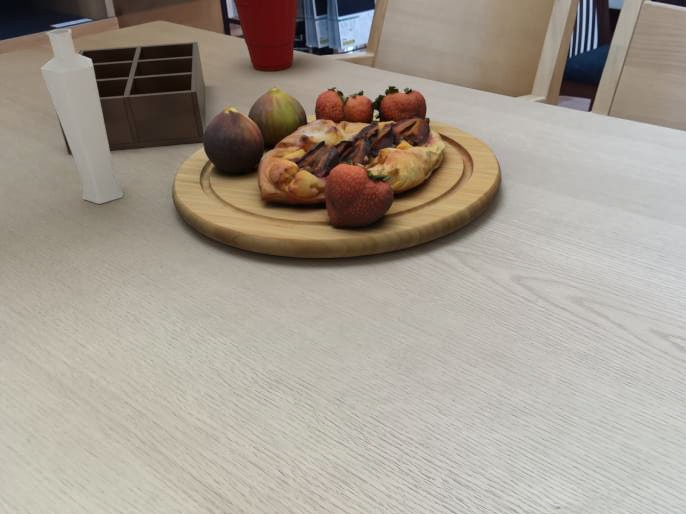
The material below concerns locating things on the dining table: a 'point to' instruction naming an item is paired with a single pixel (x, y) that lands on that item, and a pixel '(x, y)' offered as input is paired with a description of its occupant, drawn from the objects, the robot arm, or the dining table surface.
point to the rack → (150, 94)
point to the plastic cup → (268, 31)
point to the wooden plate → (334, 176)
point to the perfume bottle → (81, 116)
